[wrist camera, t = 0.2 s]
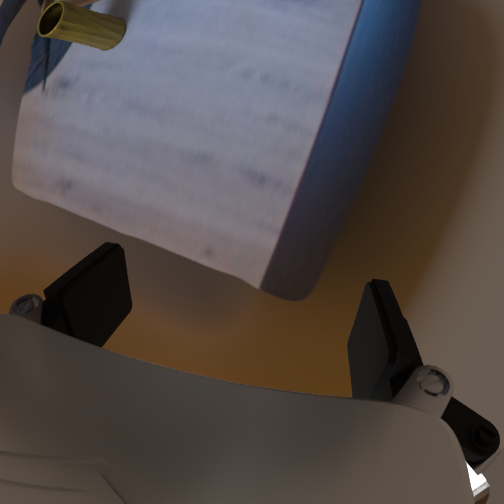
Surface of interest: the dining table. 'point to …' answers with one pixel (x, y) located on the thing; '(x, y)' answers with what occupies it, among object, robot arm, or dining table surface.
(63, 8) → the vase
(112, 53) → the dining table surface
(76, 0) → the wooden compartment tray
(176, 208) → the dining table surface
